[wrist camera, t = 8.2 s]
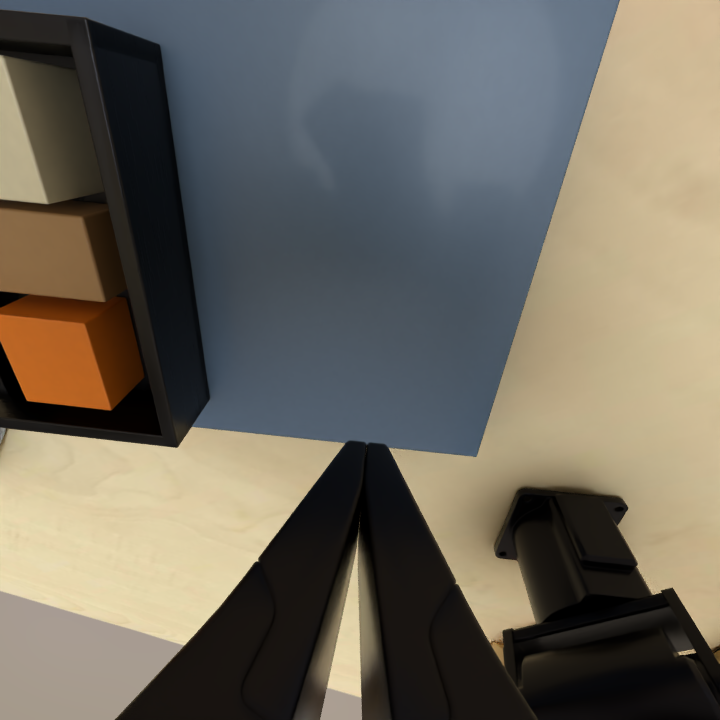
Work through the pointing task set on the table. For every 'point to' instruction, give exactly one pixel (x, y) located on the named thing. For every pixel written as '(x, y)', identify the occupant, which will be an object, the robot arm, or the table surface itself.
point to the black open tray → (92, 238)
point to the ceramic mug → (2, 434)
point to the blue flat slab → (364, 197)
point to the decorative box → (717, 655)
